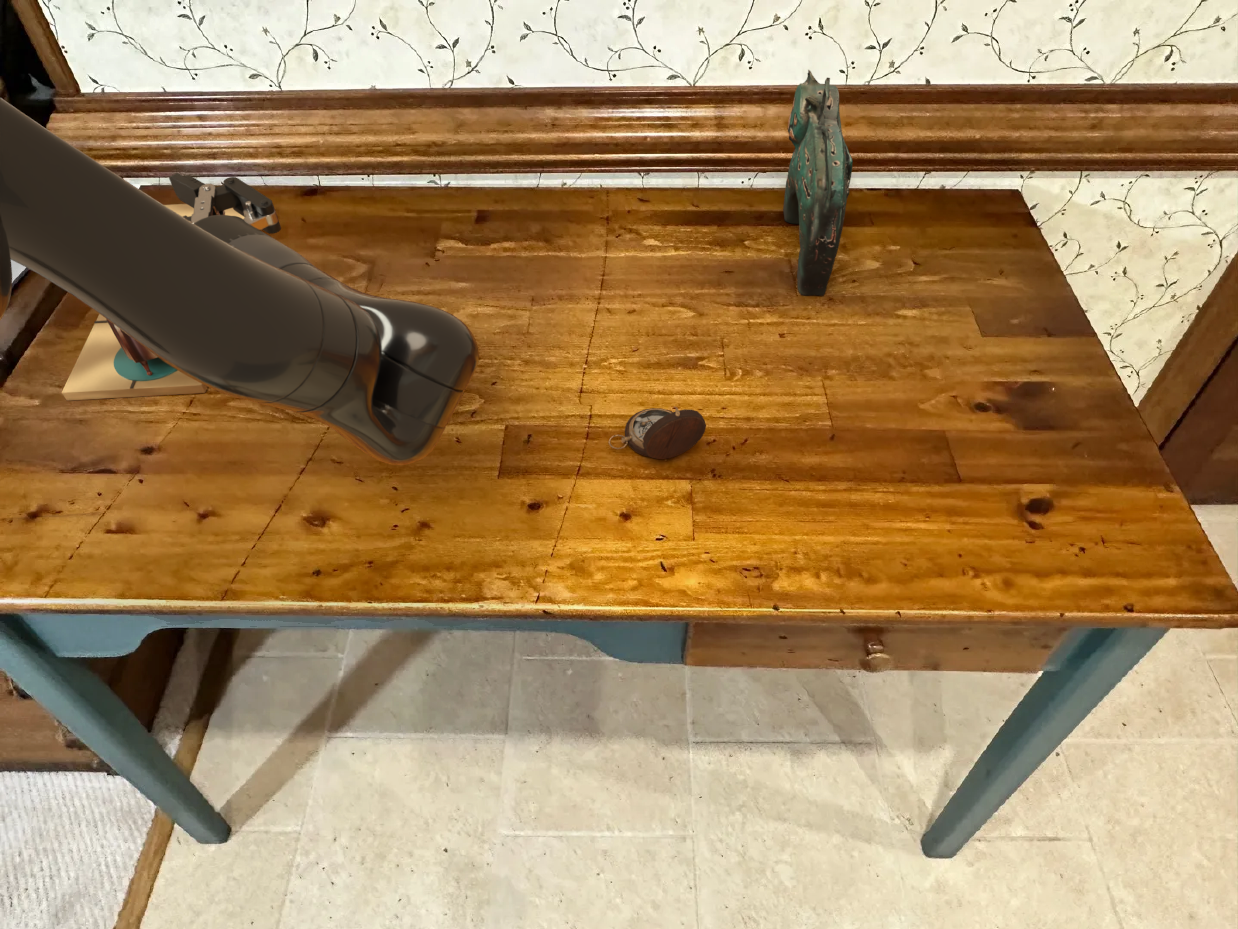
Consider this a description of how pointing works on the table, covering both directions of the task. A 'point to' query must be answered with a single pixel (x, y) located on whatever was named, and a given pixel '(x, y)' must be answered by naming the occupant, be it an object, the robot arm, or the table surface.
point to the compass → (663, 432)
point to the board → (125, 362)
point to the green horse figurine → (817, 181)
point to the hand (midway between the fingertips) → (129, 207)
